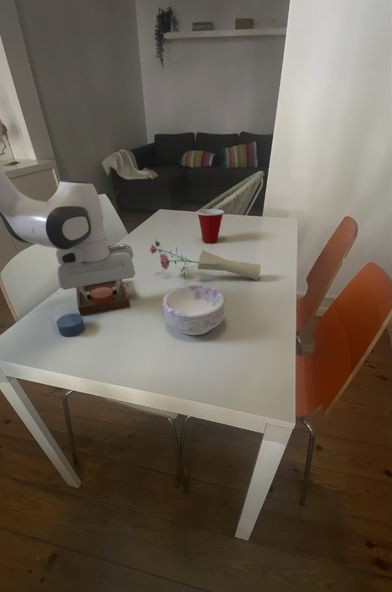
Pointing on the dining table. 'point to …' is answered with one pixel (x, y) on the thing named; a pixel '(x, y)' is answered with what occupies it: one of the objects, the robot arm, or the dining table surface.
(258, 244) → the dining table surface
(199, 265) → the flower vase
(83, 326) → the blue short cylinder
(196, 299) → the paper bowls
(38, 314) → the dining table surface
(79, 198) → the robot arm
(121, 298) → the tray
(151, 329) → the dining table surface
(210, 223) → the plastic cup
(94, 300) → the orange short cylinder
